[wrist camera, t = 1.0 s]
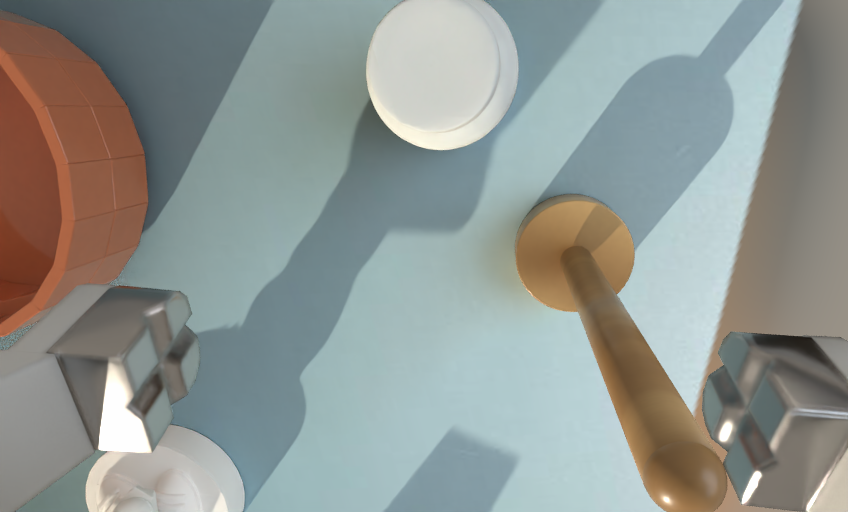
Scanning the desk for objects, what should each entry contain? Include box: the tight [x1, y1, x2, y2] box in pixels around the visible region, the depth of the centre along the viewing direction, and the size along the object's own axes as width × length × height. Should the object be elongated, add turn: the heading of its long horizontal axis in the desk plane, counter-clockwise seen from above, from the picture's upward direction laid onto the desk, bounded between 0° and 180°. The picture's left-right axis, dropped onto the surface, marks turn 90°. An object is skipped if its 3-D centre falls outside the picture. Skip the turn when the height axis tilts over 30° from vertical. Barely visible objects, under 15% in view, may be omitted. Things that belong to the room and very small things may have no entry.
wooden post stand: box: [515, 194, 727, 512], centre depth 18 cm, size 5×5×18 cm
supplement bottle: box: [366, 0, 519, 150], centre depth 21 cm, size 5×5×10 cm
